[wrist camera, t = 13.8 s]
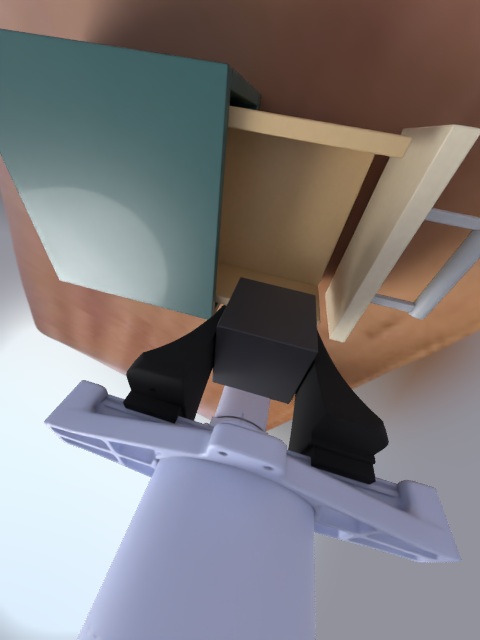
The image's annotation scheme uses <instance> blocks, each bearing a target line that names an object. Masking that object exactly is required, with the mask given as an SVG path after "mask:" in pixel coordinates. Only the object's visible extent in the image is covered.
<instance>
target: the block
mask: <svg viewBox="0 0 480 640" xmlns="http://www.w3.org/2000/svg"><path fill="white" fill-rule="evenodd" d="M317 353H318V338H317V315H316V296H315V295H313V294H309V293H304V292H300V291H296V290H292V289H288V288H284V287H280V286H276V285H272V284H267V283H263V282H259V281H255V280H251V279H247V278H243V277H240V279H239V281H238V283H237V285H236V287H235V289H234V291H233V293H232V295H231V298H230V300H229V302H228V304H227V306H226V308H225V310H224V312H223V314H222V316H221V318H220V320H219V322H218V324H217V331H216V343H215V354H214V366H213V377H212V382H215V383H218V384H222V385H225V386H229V387H232V388H235V389H239V390H242V391H246V392H249V393H253V394H256V395H260V396H263V397H266V398H270V399H273V400H277V401H280V402H284V403H287V404H289V403H290V401H291V399H292V397H293V396H294V394H295V392H296V390H297V389H298V387H299V385H300V383H301V382H302V380H303V378H304V376H305V375H306V373H307V371H308V369H309V368H310V366H311V364H312V362H313V360H314V359H315V357H316V355H317Z"/></svg>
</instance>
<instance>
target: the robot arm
mask: <svg viewBox="0 0 480 640" xmlns="http://www.w3.org/2000/svg"><path fill="white" fill-rule="evenodd" d="M225 308H226V305H224V306H222V307H221V308H220V309H219V310H218V311H217V312H216V313H215V314H214V315H213V316H212V317H210V318H209V319H208V320H207V321H206V322H204V323H203V324H202V325H200V326H199V327H198V328H196V329H195V330H193V331H192V332H190V333H188V334H187V335H185V336H183V337H181V338H180V339H178V340H176V341H174V342H171V343H169V344H167V345H164V346H162V347H159V348H156V349H153V350H150V351H147V352H143V353H142V354H141V355H140V356H139V357H138V358H137V359H136V361H135V362H134V363H133V364H132V366H131V367H130V368H129V370H128V371H127V374H126V375H127V379H128V382H129V385H130V388H131V391H130V393H129V394H128V396H127V397H126V399H121V398H118V397H115V396H112V395H108V393H107V390H106V389H105V388H104V387H103V386H101V385H99V384H95V383H92V382H89V381H86V380H82V381H81V382H80V383H79V384H78V385H77V387H75V389H74V390H73V391H72V392H71V393H70V394H69V395H68V396H67V397H66V398H65V399H64V400H63V401H62V403H61V404H60V405H59V406H58V407H57V408H56V409H55V410H54V411H53V412H52V413H51V415H50V416H49V417H48V418H47V419H46V420H45V421H44V423H45V425H46V426H47V427H48V428H49V429H51V430H52V431H53V432H54V433H55V434H56V435H57V436H58V437H59V438H60V439H61V440H62V441H63V442H65V443H67V444H70V445H73V446H76V447H78V448H81V449H84V450H86V451H89V452H92V453H95V454H97V455H100V456H102V457H104V458H107V459H109V460H111V461H114V462H116V463H118V464H121V465H123V466H125V467H128V468H130V469H133V470H135V471H137V472H140V473H142V474H144V475H147V476H149V477H151V479H150V481H149V484H148V486H147V488H146V490H145V492H144V495H143V497H142V499H141V501H140V503H139V505H138V507H137V510H136V512H135V514H134V516H133V518H132V520H131V523H130V525H129V527H128V529H127V531H126V534H125V536H124V538H123V540H122V542H121V544H120V547H119V549H118V551H117V553H116V555H115V558H114V560H113V562H112V564H111V566H110V568H109V571H108V573H107V575H106V577H105V579H104V582H103V584H102V586H101V588H100V590H99V592H98V594H97V597H96V599H95V601H94V603H93V605H92V608H91V610H90V612H89V614H88V616H87V618H86V620H85V623H84V625H83V627H82V629H81V631H80V633H79V636H78V638H77V640H316V639H315V564H314V532H315V533H318V534H322V535H326V536H329V537H334V538H337V539H341V540H344V541H348V542H352V543H356V544H359V545H363V546H367V547H371V548H374V549H378V550H381V551H384V552H388V553H391V554H394V555H398V556H401V557H404V558H407V559H410V560H413V561H416V562H419V563H426V562H460V561H461V558H460V555H459V552H458V549H457V546H456V544H455V541H454V538H453V535H452V532H451V530H450V527H449V524H448V521H447V519H446V516H445V513H444V511H443V507H442V505H441V502H440V499H439V496H438V494H437V491H436V489H435V488H434V487H431V486H428V485H424V484H421V483H418V482H415V481H410V480H404V481H401V482H399V483H398V484H396V483H392V482H389V481H386V480H383V479H380V478H376V477H375V474H374V469H373V464H375V457H374V455H375V454H376V453H378V452H379V451H381V450H383V449H384V448H385V447H386V446H387V445H388V442H389V441H388V437H387V433H386V429H385V427H384V423H383V421H382V420H381V419H380V418H379V417H378V416H377V415H376V414H374V412H372V411H371V410H370V409H369V408H368V407H367V406H366V405H365V404H364V403H363V402H362V400H361V399H359V397H358V396H357V395H356V394H355V393H354V392H353V390H352V389H351V388H350V387H349V385H348V384H347V383H346V382H345V380H344V379H343V377H342V376H341V375H340V373H339V372H338V370H337V369H336V367H335V365H334V364H333V362H332V360H331V358H330V356H329V354H328V352H327V350H326V348H325V346H324V344H323V342H322V340H321V337H320V335H319V333H318V330H317V338H318V353H317V355H316V357H315V359H314V360H313V362H312V364H311V366H310V368H309V369H308V371H307V373H306V375H305V376H304V378H303V380H302V382H301V383H300V385H299V387H298V389H297V390H296V395H295V405H294V414H293V422H292V429H291V437H290V442H289V448H288V450H287V445H286V444H285V443H284V442H282V440H280V439H278V438H276V437H274V436H270V435H268V433H267V432H266V426H267V420H268V413H269V406H270V398H266V397H263V396H260V395H256V394H253V393H249V392H246V391H242V390H239V389H235V388H232V387H229V386H225V387H224V390H223V393H222V396H221V399H220V402H219V405H218V408H217V411H216V414H215V417H212V419H211V422H210V424H208V423H205V424H202V423H199V422H195V421H194V419H195V416H196V413H197V410H198V407H199V404H200V401H201V398H202V395H203V393H204V390H205V387H206V384H207V381H208V379H209V376H210V373H211V371H212V368H213V366H214V354H215V343H216V331H217V324H218V322H219V320H220V318H221V316H222V314H223V312H224V310H225Z"/></svg>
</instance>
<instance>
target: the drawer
mask: <svg viewBox="0 0 480 640" xmlns="http://www.w3.org/2000/svg"><path fill="white" fill-rule="evenodd" d="M479 135H480V128H475V127H469V126H463V125H457V124H452V125H440V126H429V127H417V128H406V129H403V130H402V133H401V135H398V134H392V133H386V132H380V131H374V130H369V129H363V128H357V127H351V126H345V125H339V124H334V123H328V122H322V121H316V120H310V119H304V118H299V117H293V116H287V115H281V114H275V113H269V112H264V111H258V110H252V109H246V108H240V107H234V106H229V119H228V133H227V146H226V160H225V174H224V187H223V201H222V215H221V228H220V242H219V255H218V269H217V283H216V296H215V302H216V303H220V304H224V305H227V304H228V302H229V300H230V298H231V295H232V293H233V291H234V289H235V287H236V285H237V283H238V281H239V279H240V277H243V278H247V279H251V280H255V281H259V282H263V283H267V284H272V285H276V286H280V287H284V288H288V289H292V290H296V291H300V292H304V293H309V294H313V295H315V296H316V315H317V327H318V325H319V323H320V307H319V292H318V285H319V283H320V281H321V279H322V276H323V274H324V272H325V269H326V267H327V265H328V262H329V260H330V258H331V255H332V253H333V251H334V249H335V246H336V244H337V242H338V239H339V237H340V235H341V232H342V230H343V228H344V225H345V223H346V221H347V218H348V216H349V214H350V212H351V209H352V207H353V205H354V202H355V200H356V198H357V195H358V193H359V191H360V188H361V186H362V184H363V182H364V179H365V177H366V175H367V172H368V170H369V168H370V165H371V163H372V161H373V158H374V156H375V154H379V155H384V156H390V158H389V160H388V162H387V164H386V166H385V169H384V171H383V173H382V175H381V177H380V179H379V181H378V183H377V186H376V188H375V190H374V192H373V194H372V196H371V198H370V200H369V203H368V205H367V207H366V209H365V211H364V213H363V215H362V217H361V219H360V222H359V224H358V226H357V228H356V230H355V232H354V234H353V236H352V239H351V241H350V243H349V245H348V247H347V249H346V251H345V253H344V256H343V258H342V260H341V262H340V264H339V266H338V268H337V270H336V273H335V275H334V277H333V279H332V281H331V283H330V285H329V287H328V289H327V292H326V294H325V300H326V309H327V319H328V328H329V338H330V339H332V340H336V341H340V342H345V340H346V339H347V337H348V336H349V334H350V333H351V331H352V330H353V328H354V326H355V325H356V323H357V322H358V320H359V319H360V317H361V316H362V314H363V313H364V311H365V310H366V308H367V307H368V305H369V304H370V303H374V304H378V305H382V306H386V307H390V308H395V309H399V310H403V311H407V312H408V313H409V314H410V315H411V316H413V317H415V318H417V319H424V318H425V317H426V316H427V315H428V314H429V313H430V312H431V311H432V310H433V308H434V307H435V306H436V305H437V304H438V303H439V302H440V301H441V300H442V299H443V297H444V296H445V295H446V294H447V293H448V292H449V291H450V290H451V289H452V288H453V287H454V285H455V284H456V283H457V282H458V281H459V280H460V279H461V278H462V277H463V276H464V274H465V273H466V272H467V271H468V270H469V269H470V268H471V267H472V266H473V265H474V263H475V262H476V261H477V260H478V259H479V258H480V217H476V216H471V215H466V214H461V213H456V212H451V211H446V210H441V209H436V208H432V207H433V206H434V204H435V203H436V201H437V200H438V198H439V197H440V195H441V193H442V192H443V190H444V189H445V187H446V186H447V184H448V183H449V181H450V180H451V178H452V177H453V175H454V174H455V172H456V171H457V169H458V167H459V166H460V164H461V163H462V161H463V160H464V158H465V157H466V155H467V154H468V152H469V151H470V149H471V148H472V146H473V145H474V143H475V141H476V140H477V138H478V137H479ZM424 220H426V221H431V222H436V223H441V224H446V225H451V226H456V227H461V228H466V229H471V230H472V231H471V233H470V234H469V235H468V236H467V238H466V239H465V240H464V241H463V242H462V244H461V245H460V246H459V247H458V249H457V250H456V251H455V252H454V253H453V255H452V256H451V257H450V258H449V260H448V261H447V262H446V263H445V264H444V266H443V267H442V268H441V269H440V271H439V272H438V273H437V274H436V276H435V277H434V278H433V279H432V280H431V282H430V283H429V284H428V285H427V287H426V288H425V289H424V290H423V291H422V293H421V294H420V295H419V296H418V298H417V299H416V300H415V301H414V302H410V301H406V300H401V299H397V298H393V297H389V296H384V295H380V294H376V293H377V291H378V290H379V288H380V287H381V285H382V284H383V282H384V281H385V279H386V278H387V276H388V274H389V273H390V271H391V270H392V268H393V267H394V265H395V264H396V262H397V261H398V259H399V258H400V256H401V255H402V253H403V252H404V250H405V248H406V247H407V245H408V244H409V242H410V241H411V239H412V238H413V236H414V235H415V233H416V232H417V230H418V229H419V227H420V226H421V224H422V223H423V221H424Z"/></svg>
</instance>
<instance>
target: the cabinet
mask: <svg viewBox="0 0 480 640" xmlns="http://www.w3.org/2000/svg"><path fill="white" fill-rule="evenodd" d="M260 96H261V94H260V93H259V92H258V91H257V90H256V89H255V88H254V87H253V86H251V85H250V84H249V83H248V82H247V81H246V80H245V79H244V78H243V77H242V76H240V75H239V74H238V73H237V72H236V71H235V70H234V69H233V68H232V67H231V66H230V65H228V64H227V63H221V62H214V61H208V60H201V59H195V58H188V57H182V56H175V55H169V54H162V53H156V52H149V51H143V50H136V49H130V48H123V47H116V46H110V45H103V44H97V43H90V42H84V41H77V40H71V39H64V38H58V37H51V36H45V35H38V34H32V33H25V32H19V31H12V30H6V29H0V154H1V156H2V158H3V161H4V163H5V165H6V167H7V169H8V171H9V173H10V175H11V178H12V180H13V182H14V184H15V186H16V188H17V190H18V193H19V195H20V197H21V199H22V201H23V203H24V205H25V207H26V210H27V212H28V214H29V216H30V218H31V220H32V222H33V225H34V227H35V229H36V231H37V233H38V235H39V237H40V239H41V242H42V244H43V246H44V248H45V250H46V252H47V254H48V256H49V259H50V261H51V263H52V265H53V267H54V269H55V271H56V274H57V276H58V278H59V280H60V281H64V282H68V283H72V284H75V285H79V286H83V287H87V288H90V289H94V290H98V291H102V292H106V293H109V294H113V295H117V296H121V297H124V298H128V299H132V300H136V301H140V302H143V303H147V304H151V305H155V306H158V307H162V308H166V309H170V310H174V311H177V312H181V313H185V314H189V315H192V316H196V317H200V318H204V319H209V318H210V317H212V316H213V315H214V314H215V313H216V311H217V309H218V307H219V305H220V303H216V302H215V296H216V283H217V269H218V255H219V242H220V228H221V215H222V201H223V187H224V174H225V160H226V146H227V133H228V119H229V106H234V107H240V108H246V109H252V110H259V103H260Z"/></svg>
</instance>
